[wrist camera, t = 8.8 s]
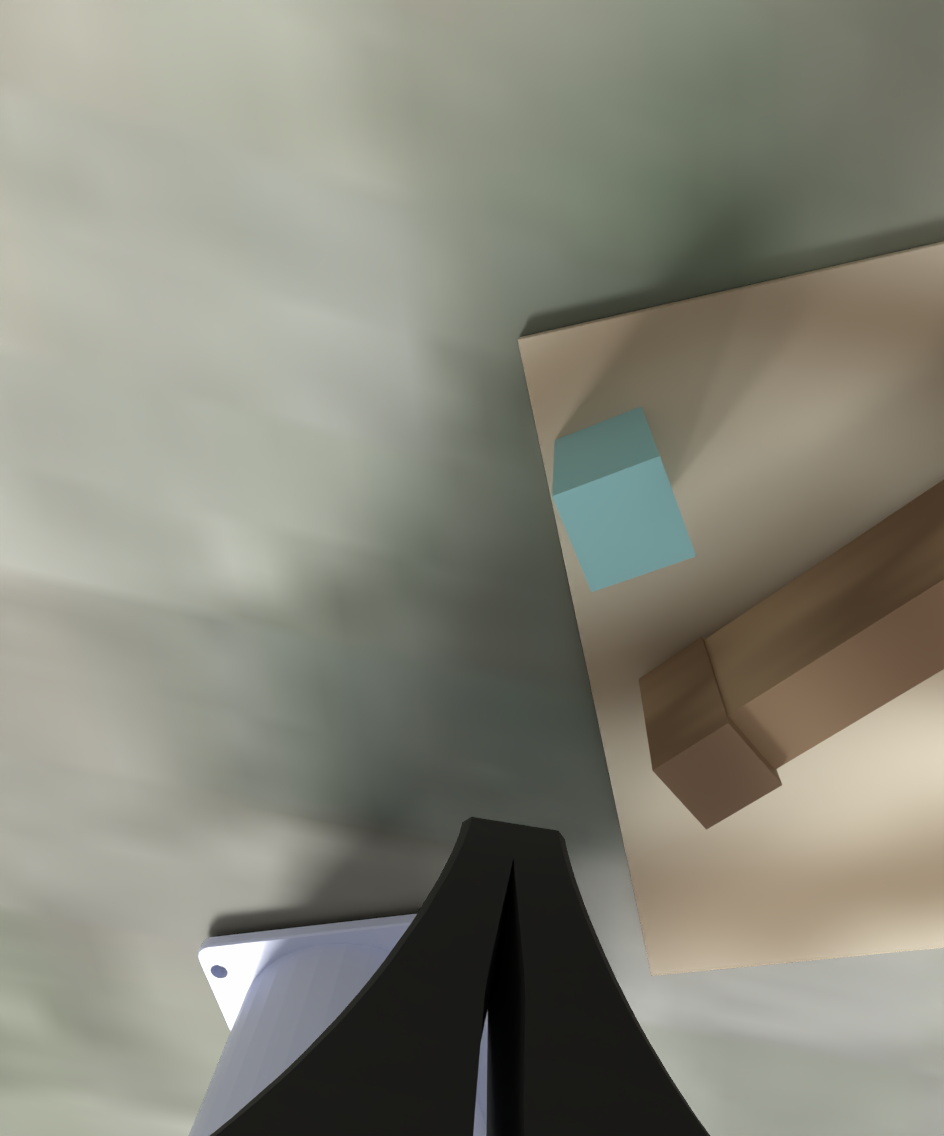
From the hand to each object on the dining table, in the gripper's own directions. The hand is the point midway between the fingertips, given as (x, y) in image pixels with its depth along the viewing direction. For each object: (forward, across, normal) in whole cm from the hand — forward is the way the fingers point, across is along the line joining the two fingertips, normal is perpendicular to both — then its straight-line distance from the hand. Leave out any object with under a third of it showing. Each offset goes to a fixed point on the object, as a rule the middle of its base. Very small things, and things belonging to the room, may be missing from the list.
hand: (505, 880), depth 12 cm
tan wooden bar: (+9, -7, -2) cm, 12 cm away
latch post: (+10, -1, -4) cm, 11 cm away
